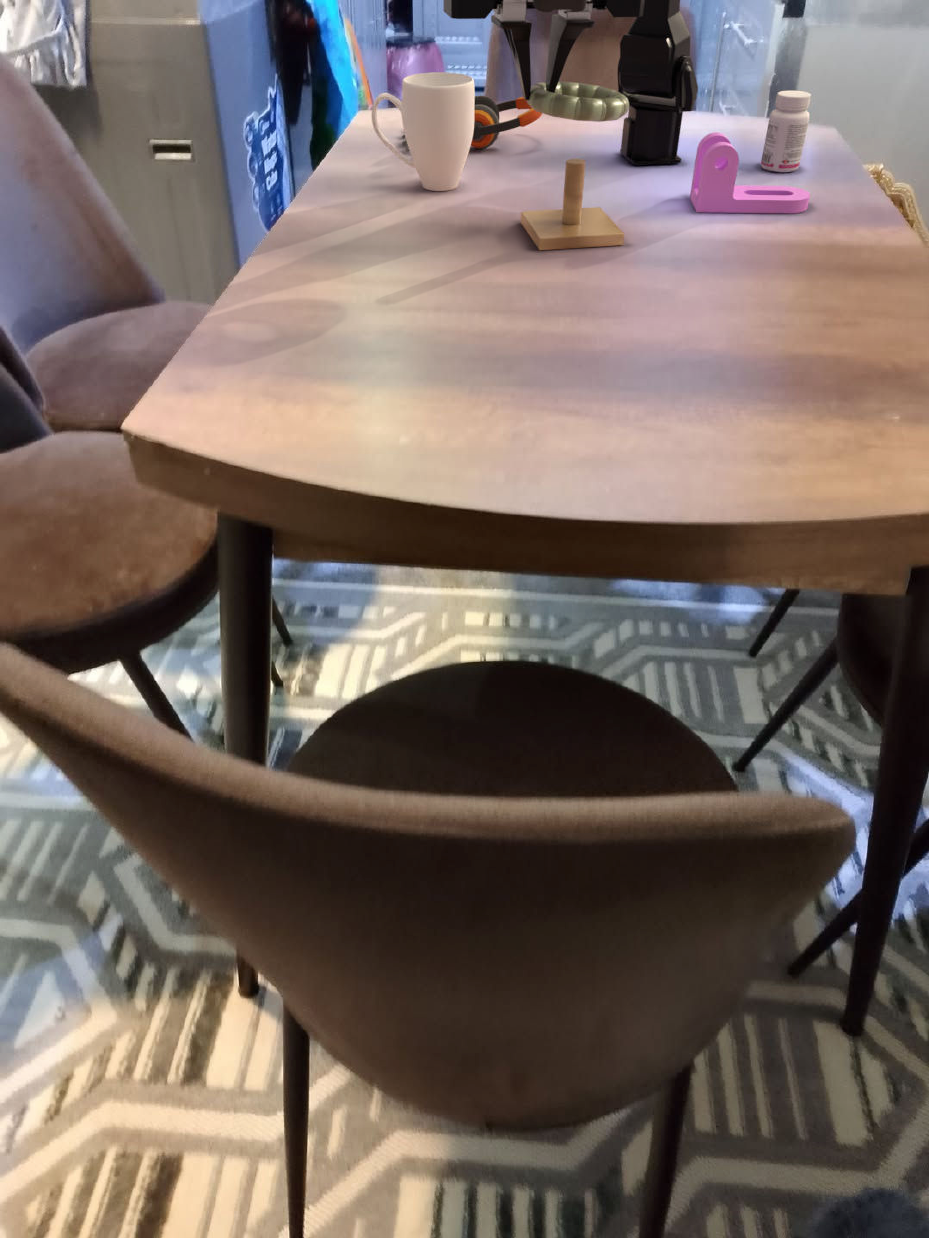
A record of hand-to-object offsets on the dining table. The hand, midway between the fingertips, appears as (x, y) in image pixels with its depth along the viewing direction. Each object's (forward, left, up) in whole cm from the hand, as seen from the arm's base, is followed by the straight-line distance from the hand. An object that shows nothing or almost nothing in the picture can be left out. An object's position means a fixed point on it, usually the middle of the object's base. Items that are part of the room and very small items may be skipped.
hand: (537, 99), depth 93 cm
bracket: (-26, -1, -12) cm, 29 cm away
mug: (+10, -15, -12) cm, 22 cm away
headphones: (+1, -34, -12) cm, 36 cm away
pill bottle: (-36, -15, -12) cm, 41 cm away
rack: (-3, +5, -12) cm, 13 cm away
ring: (-4, 0, 0) cm, 4 cm away
